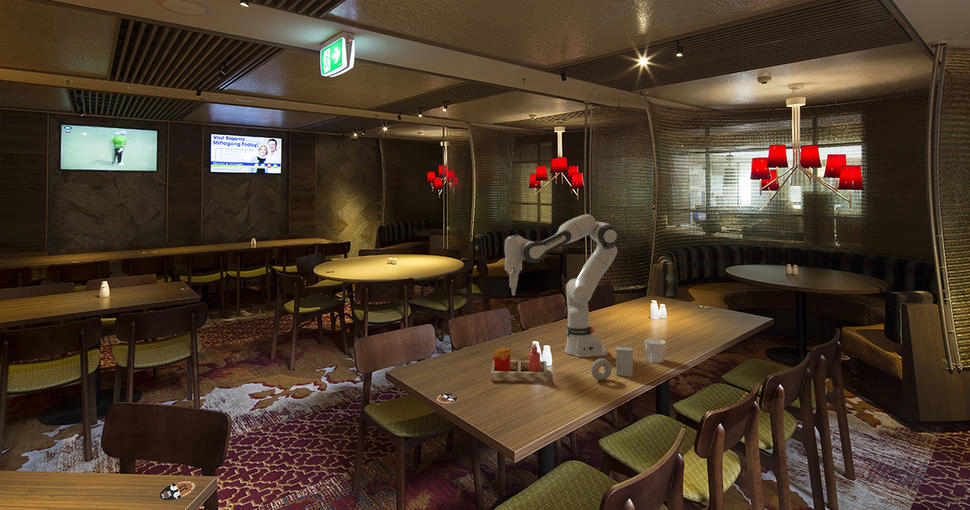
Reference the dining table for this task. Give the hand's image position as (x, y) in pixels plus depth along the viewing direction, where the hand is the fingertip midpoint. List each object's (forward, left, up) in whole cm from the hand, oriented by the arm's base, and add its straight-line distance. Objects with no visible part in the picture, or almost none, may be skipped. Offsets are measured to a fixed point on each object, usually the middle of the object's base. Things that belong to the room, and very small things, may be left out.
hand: (513, 293), depth 244 cm
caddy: (-3, +26, -34) cm, 43 cm away
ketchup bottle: (-10, +28, -34) cm, 45 cm away
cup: (-71, +2, -34) cm, 79 cm away
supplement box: (-52, +22, -34) cm, 66 cm away
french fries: (+5, +25, -34) cm, 43 cm away
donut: (-40, +31, -34) cm, 61 cm away
